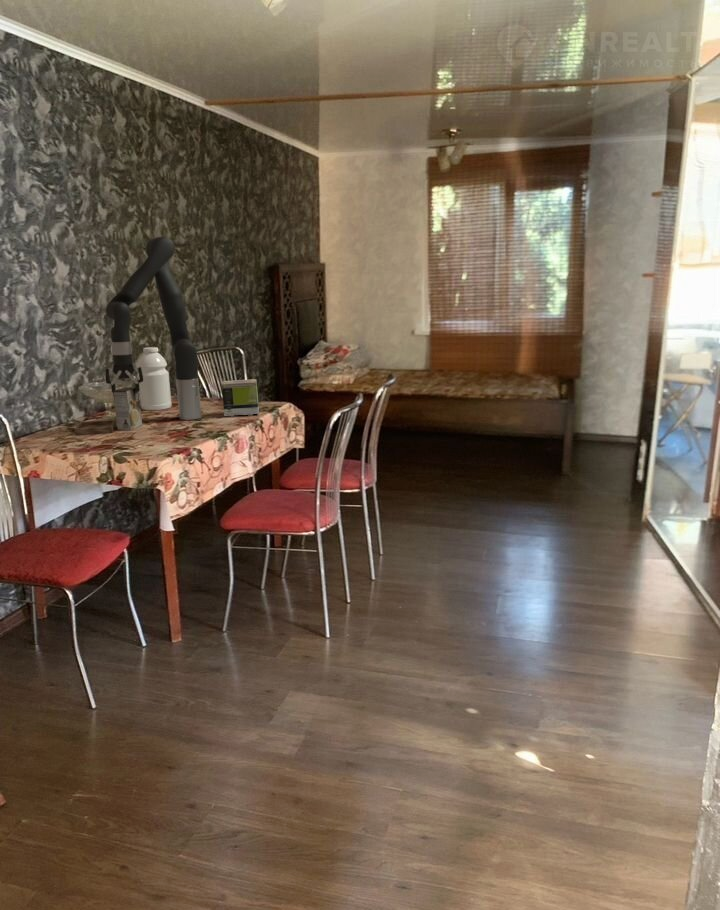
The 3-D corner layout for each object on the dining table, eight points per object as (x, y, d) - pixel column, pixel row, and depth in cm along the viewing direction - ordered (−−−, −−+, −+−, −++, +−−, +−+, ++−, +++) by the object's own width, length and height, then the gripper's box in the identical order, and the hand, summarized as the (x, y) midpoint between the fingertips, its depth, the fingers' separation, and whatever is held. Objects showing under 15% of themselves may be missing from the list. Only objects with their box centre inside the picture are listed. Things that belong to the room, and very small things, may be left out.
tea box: (259, 411, 311) (257, 378, 307) (258, 415, 301) (256, 382, 298) (225, 412, 309) (222, 380, 306) (223, 417, 300) (221, 383, 296)
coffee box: (128, 425, 289) (124, 387, 285) (142, 425, 288) (138, 387, 283) (117, 430, 280) (112, 390, 276) (131, 430, 279) (127, 390, 275)
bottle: (144, 405, 331) (138, 346, 324) (173, 404, 332) (168, 345, 325) (138, 411, 318) (131, 350, 310) (169, 409, 319) (163, 348, 312)
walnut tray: (116, 425, 288) (115, 419, 288) (112, 432, 275) (111, 426, 274) (81, 427, 285) (80, 422, 285) (75, 435, 272) (74, 429, 272)
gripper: (141, 351, 281) (145, 391, 285) (104, 352, 278) (108, 392, 282) (139, 353, 274) (143, 394, 278) (102, 354, 271) (106, 395, 275)
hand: (126, 393), depth 280 cm, fingers open, 8 cm apart
